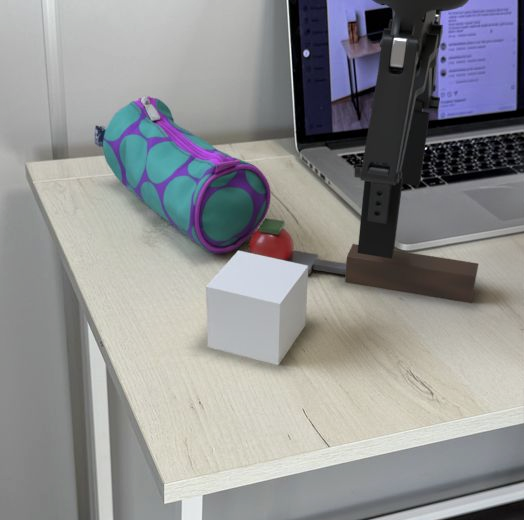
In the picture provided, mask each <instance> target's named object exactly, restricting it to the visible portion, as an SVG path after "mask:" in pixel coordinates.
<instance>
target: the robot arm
mask: <svg viewBox="0 0 524 520" xmlns="http://www.w3.org/2000/svg"><path fill="white" fill-rule="evenodd" d="M469 1H470V0H371V2H373V3H376V4H377V5H380V6H387V7H388V8H390V9H391V10H392V11H393V12H394V15H393V19H389V22H388V27H387V28H384V29H383V32H382V36H381V39H380V41H379V47H380V53H379V61H378V70H377V75H376V82H375V87H374V92H373V93H374V94H373V100H372V105H371V111H370V117H369V123H368V129H367V135H366V141H365V147H364V153H363V159H362V165H361V166H354V178H358V179H360V181H361V182H364V183H363V184H364V185H363V193H362V203H361V212H360V213H361V214H360V223H359V233H358V241H357V242H358V244H357V245H358V253H361V254H367V255H373V256H379V257H384V258H390V259H392V257H393V254H394V250H395V245H396V237H397V228H398V222H399V215H400V205H401V197H402V190H403V185H409V186H416V187H420V184H421V179H422V172H423V164H424V157H425V150H426V143H427V137H428V136H427V135H428V128H429V121H430V114H431V112H427V111H424V110H428V111H435V112H438V111H439V108H440V102H441V97H440V96H434V92H436V88H437V85H436V78H437V77H436V76H437V67H438V66H437V64H438V57H439V52H440V46H441V41H442V38H443V32H444V25H443V24H441V16H442V12H447V11H452V10H457V9H459V8H462V7H463V6H465V5H466V4H468V2H469Z"/></svg>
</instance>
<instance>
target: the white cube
mask: <svg viewBox="0 0 524 520" xmlns="http://www.w3.org/2000/svg"><path fill="white" fill-rule="evenodd" d="M308 280H309V274H308V266H307V265H302V264H298V263H293V262H289V261H284V260H280V259H275V258H270V257H266V256H261V255H257V254H252V253H248V251H243V250H237V251H236V253H234V255H233V256H232V257H231V258H230V259H229V260H228V261H227V262H226V263H225V264H224V265H223V266H222V268H220V270H219V271H218V272H217V273H216V274H215V276H214V277H213V278H212V279H211V280H210V281H209V283H208V284H207V285H205V298H206V299H205V300H206V301H205V302H206V330H207V331H206V332H207V334H206V335H207V348H209V349H214V350H217V351H221V352H225V353H228V354H233V355H236V356H240V357H245V358H249V359H252V360H256V361H259V362H260V361H261V362H264V363H268V364H272V365H276V366H279V365H280V363H281V362H282V361H283V359H284V357H285V356H286V355H287V354H288V352H289V350H290V349H291V348H292V346H293V344H294V343H295V342H296V340H297V338H298V337H299V335H300V334H301V333H302V331H303V329H304V328H305V327H306V322H307V303H308V302H307V301H308V284H309V283H308V282H309V281H308Z"/></svg>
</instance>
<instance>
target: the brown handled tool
mask: <svg viewBox="0 0 524 520" xmlns="http://www.w3.org/2000/svg"><path fill="white" fill-rule="evenodd" d="M284 227H285V221H284V220H279V219H274V218H273V219H272V218H265V217H264V219H263V221H262V222H261V224H260V225H259V226H258V228H257V229H256V230H255V231H254V232H253V234H252V235H251V236H250V237H251V238H250V239H249V245H248V251H247V252H248V253H252V254H257V255H261V256H266V257H270V258H275V259H280V260H284V261H289V262H293V263H298V264H302V265H307V266H308V275H310V274H311V273H312V271H313V270H314V271H319V272H327V273H333V274H339V275H345V276H344V283H347V284H353V285H359V286H364V287H371V288H376V289H383V290H387V291H393V292H400V293H406V294H413V295H417V296H424V297H431V298H436V299H443V300H449V301H454V302H461V303H466V304H472V301H473V298H474V297H473V296H474V292H475V287H476V281H477V274H478V269H479V263H478V262H471V261H465V260H459V259H452V258H446V257H440V256H434V255H427V254H422V253H421V254H420V253H414V252H407V251H401V250H395V249H394V254H393V257H392V259H390V258H384V257H379V256H373V255H367V254H361V253H358V244H355V243H352V245H351V247H350V249H349V251H348V253H347V256H346V262H337V261H332V260H325V259H320V258H319V255H318V254H317V253H311V252H305V251H300V250H299V251H298V250H295V247H294V240H293V238H292V236H291V234H290V233H289V232H288V231H287V230H286V229H285V228H284ZM318 258H319V259H318Z"/></svg>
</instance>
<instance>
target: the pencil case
mask: <svg viewBox="0 0 524 520" xmlns="http://www.w3.org/2000/svg"><path fill="white" fill-rule="evenodd" d="M93 141H94V144H95V145H96V146H97V147H99V148H102V150H103V155H104V159H105V162H106V164H107V165H108V167H109V168H110V170H111V171H112V173H113V174H114V176H115V177H116V178H117V179H118V181H119V182H120V183H121V184H122V185H124V186H125V187H126V188H127V189H128V190H129V192H131V193H132V194H133V195H135V196H136V197H137V198H138V199H140V200H141V202H143V203H145V205H147V206H148V207H149V208H150V209H151V210H152V211H153V212H154V213H156V214H157V215H158V216H160V218H162V219H163V220H165V221H166V222H168V223H169V224H170V225H171V226H173V227H174V228H176V229H177V230H179V231H180V232H181V233H182V234H183V235H184V236H186V237H188V238H190V239H191V241H192V242H194V243H195V244H198V245H199V246H200V247H201V248H202V249H204V250H205V251H206V252H209V253H212V254H218V255H225V254H228V253H231V252H233V251H235V250H237V249H238V248H240V247H241V246H242V245H243V244H244V243H245V242H246V241H247V240H248V239H249V238H250V237H252V236H253V234H254V233H255V232H256V231H257V230H258V229H259V227H260V225H261V224H262V222H263V221H264V219H265V217H266V215H267V214H268V211H269V208H270V204H271V186H270V183H269V181H268V179H267V178H266V176H265V174H264V173H263V172H262V170H260V169H259V168H258V167H257V166H256V165H254V164H252V163H250V162H248V161H245V160H242V159H240V158H237V157H233V156H231V155H230V154H229V153H227V152H223V151H221V150H219V149H217V148H216V147H214V146H213V145H212V144H211V143H209V142H207V141H206V140H205V139H204V138H202V137H200V136H197V135H195V134H194V133H192V132H190V131H189V130H188V129H185V128H183V127H181V126H180V125H178V124H176V123H175V121H174V117H173V115H172V112H171V109H170V108H169V106H168V105H167V104H165V102H163V101H162V100H161V99H159V98H157V97H151V96H149V95H148V96H147V95H144V96H143V97H142V98H141V97H140V98H138V100H135V101H134V100H132V101H131V102H129V103H128V104H126V105H124V106H123V107H121V108H120V109H118V110H117V111H116V112H115V114H114V115H113V116H112V118H111V119H110V121H109V123H108V125H107V127H106V126H104V125H95V127H94V140H93Z"/></svg>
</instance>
